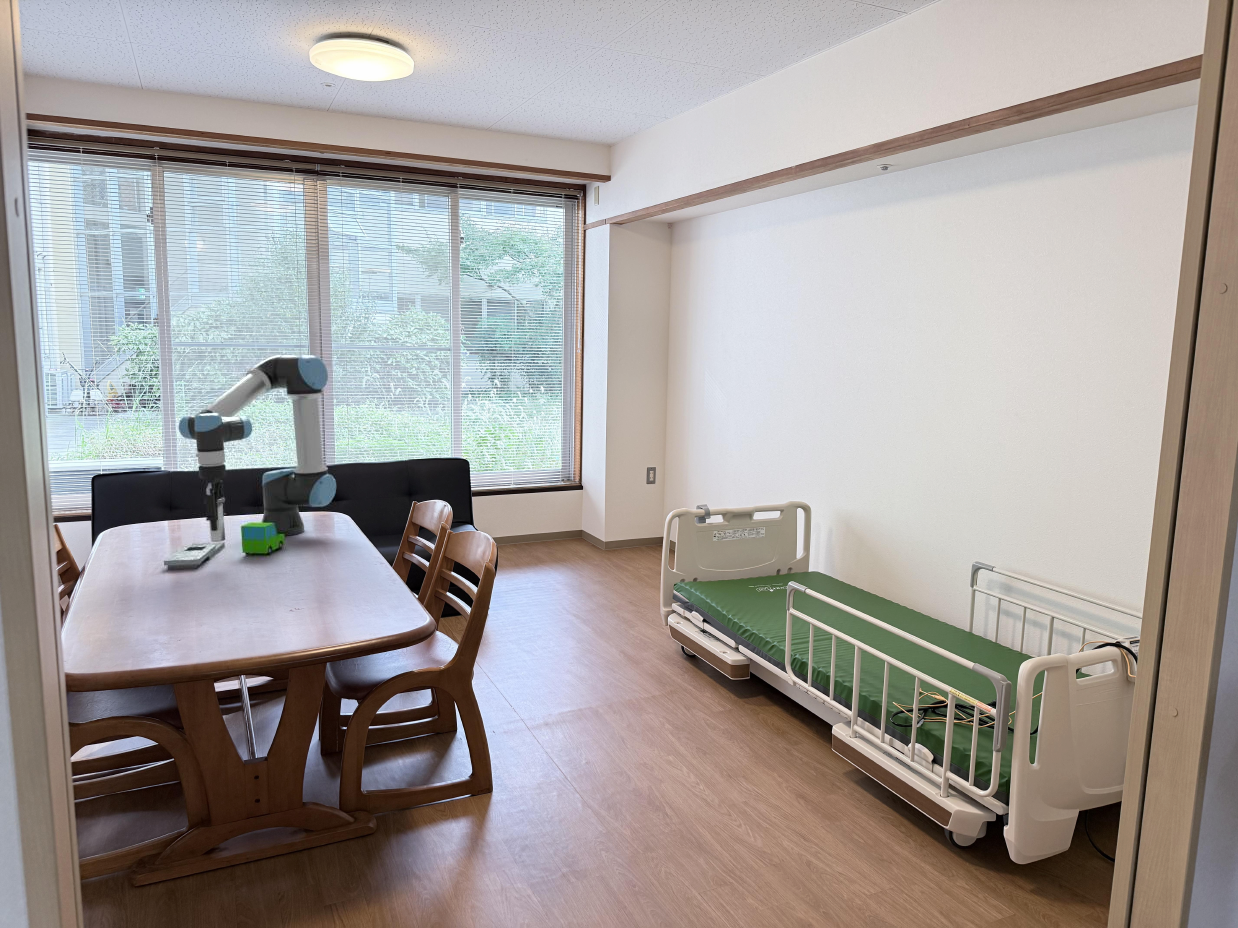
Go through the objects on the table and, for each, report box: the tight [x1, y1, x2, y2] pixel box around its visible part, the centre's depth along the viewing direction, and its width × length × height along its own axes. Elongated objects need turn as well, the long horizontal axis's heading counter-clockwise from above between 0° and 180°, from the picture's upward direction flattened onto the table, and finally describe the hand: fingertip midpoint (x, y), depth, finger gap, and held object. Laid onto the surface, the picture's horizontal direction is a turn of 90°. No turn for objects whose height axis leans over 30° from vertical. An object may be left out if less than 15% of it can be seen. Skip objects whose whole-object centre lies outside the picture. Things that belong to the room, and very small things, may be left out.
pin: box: [211, 497, 226, 543], centre depth 265 cm, size 6×6×13 cm
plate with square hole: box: [163, 541, 226, 571], centre depth 277 cm, size 10×30×3 cm, turn 11°
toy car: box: [240, 522, 286, 556], centre depth 285 cm, size 10×13×10 cm
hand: (218, 538), depth 266 cm, fingers closed on pin, 4 cm apart
